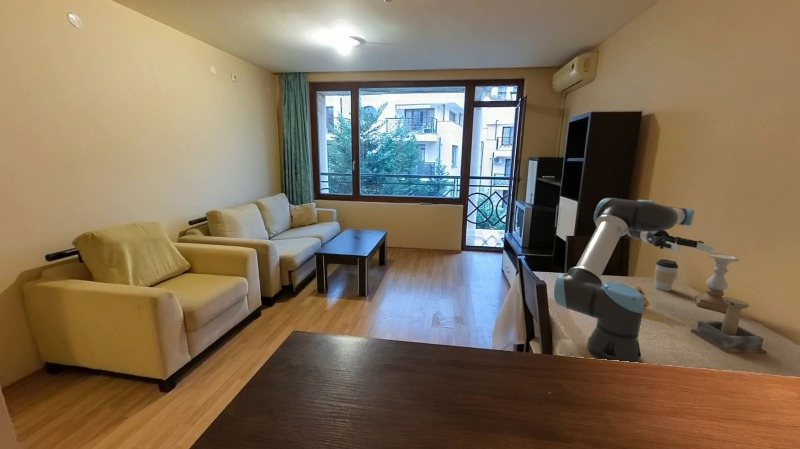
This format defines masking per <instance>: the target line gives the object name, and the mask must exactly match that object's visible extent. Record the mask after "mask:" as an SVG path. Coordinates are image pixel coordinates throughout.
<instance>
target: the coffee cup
mask: <svg viewBox="0 0 800 449" xmlns="http://www.w3.org/2000/svg"><path fill="white" fill-rule="evenodd" d="M654 269H655V270H654V282H653V283H654V285H653V287H654V288H655V289H657V290H659V291H663V292H670V291H671V289H672V287H673V283H674V282H675V278H676V275H677V271H678V269H679V265H678V264H677V261H675V260H669V259H659V260H657V261H656V262H655V268H654Z"/></svg>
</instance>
